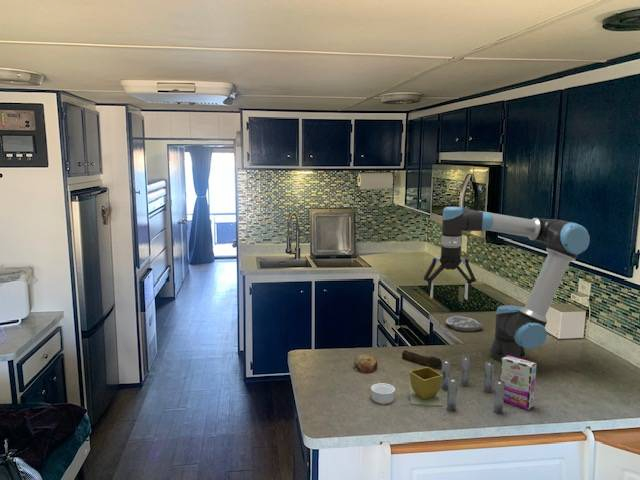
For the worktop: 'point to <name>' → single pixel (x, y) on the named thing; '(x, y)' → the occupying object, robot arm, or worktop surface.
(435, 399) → the pad
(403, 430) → the worktop surface
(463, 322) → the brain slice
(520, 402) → the candy bar box
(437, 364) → the brown wood log
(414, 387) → the flower pot
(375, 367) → the bread roll
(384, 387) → the ramekin
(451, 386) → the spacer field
